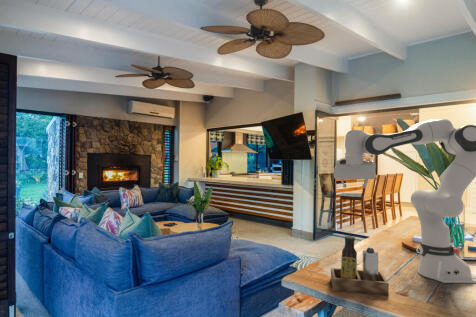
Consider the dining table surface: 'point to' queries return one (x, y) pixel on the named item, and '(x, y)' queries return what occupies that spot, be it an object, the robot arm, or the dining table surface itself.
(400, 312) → the dining table surface
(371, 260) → the pepper mill
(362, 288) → the condiment caddy
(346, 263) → the sauce bottle
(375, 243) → the dining table surface
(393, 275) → the dining table surface
